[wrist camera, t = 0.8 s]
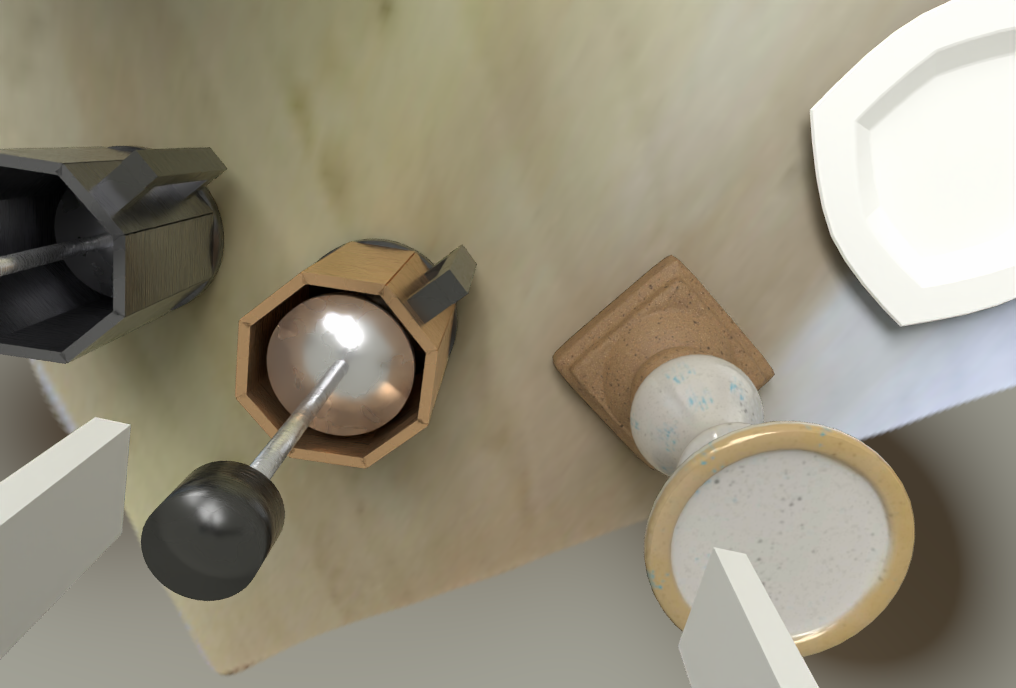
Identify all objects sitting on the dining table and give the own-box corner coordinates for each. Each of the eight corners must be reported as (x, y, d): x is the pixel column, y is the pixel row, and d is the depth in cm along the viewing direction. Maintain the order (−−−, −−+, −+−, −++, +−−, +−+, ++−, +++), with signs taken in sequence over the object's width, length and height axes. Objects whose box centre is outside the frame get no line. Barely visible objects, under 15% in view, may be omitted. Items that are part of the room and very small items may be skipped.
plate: (1060, -67, 42) (1085, -76, 41) (1148, 219, 47) (1174, 223, 45) (761, 99, 45) (771, 97, 43) (871, 354, 50) (886, 362, 48)
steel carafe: (24, 213, 47) (-134, 237, 36) (172, 84, 45) (54, 66, 34) (140, 341, 50) (27, 403, 38) (286, 226, 47) (213, 254, 36)
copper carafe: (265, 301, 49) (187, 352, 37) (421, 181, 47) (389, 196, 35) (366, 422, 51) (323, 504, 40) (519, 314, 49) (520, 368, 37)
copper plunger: (241, 347, 39) (12, 523, 21) (353, 262, 38) (207, 374, 20) (335, 455, 41) (194, 700, 23) (444, 378, 40) (386, 576, 22)
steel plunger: (36, 221, 45) (-275, 276, 28) (125, 144, 44) (-142, 149, 26) (124, 319, 47) (-114, 430, 29) (213, 248, 46) (19, 320, 28)
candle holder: (648, 462, 52) (752, 719, 29) (548, 356, 50) (576, 543, 27) (770, 366, 50) (986, 561, 27) (671, 251, 48) (815, 356, 25)
